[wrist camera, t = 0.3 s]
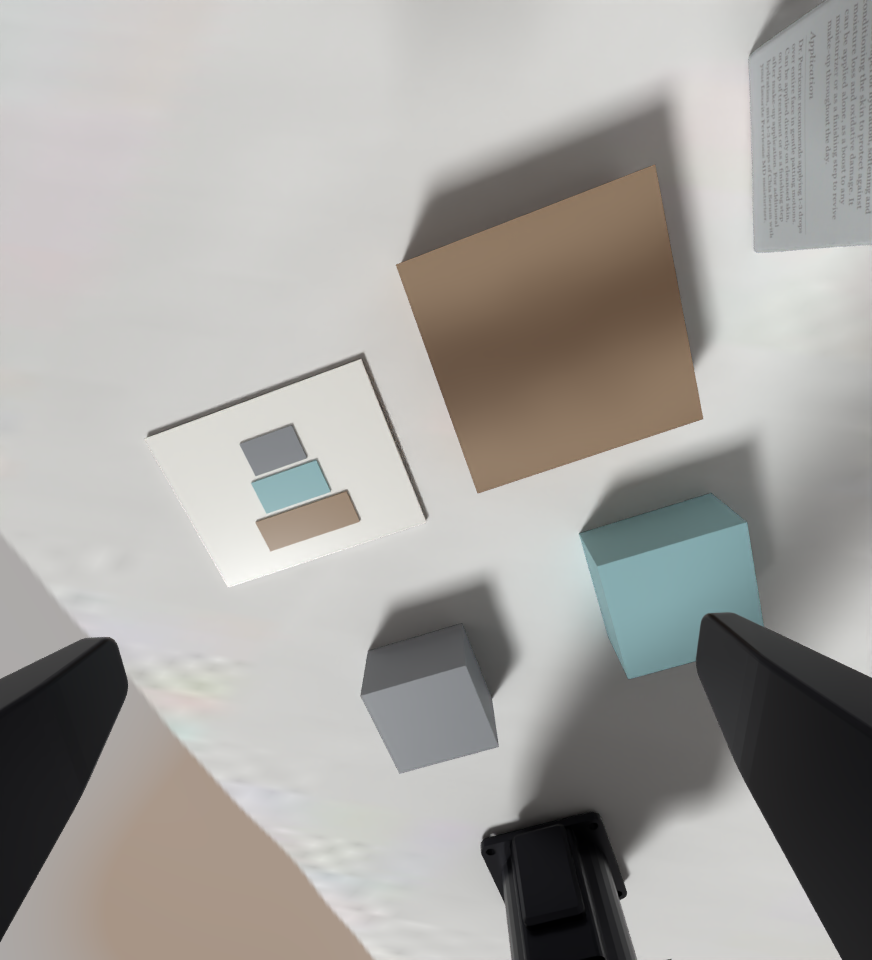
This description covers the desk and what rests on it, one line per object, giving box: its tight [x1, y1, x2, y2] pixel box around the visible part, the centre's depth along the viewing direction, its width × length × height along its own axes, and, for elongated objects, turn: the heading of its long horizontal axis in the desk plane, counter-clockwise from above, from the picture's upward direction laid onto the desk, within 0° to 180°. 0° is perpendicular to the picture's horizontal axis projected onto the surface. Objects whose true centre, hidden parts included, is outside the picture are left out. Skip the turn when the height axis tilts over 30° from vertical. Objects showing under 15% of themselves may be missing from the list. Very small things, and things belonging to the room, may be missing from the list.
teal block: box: [579, 493, 764, 679], centre depth 22 cm, size 6×6×3 cm
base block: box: [396, 165, 703, 493], centre depth 19 cm, size 8×8×3 cm
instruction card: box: [144, 359, 426, 588], centre depth 22 cm, size 7×9×1 cm
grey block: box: [361, 623, 499, 774], centre depth 24 cm, size 4×4×3 cm
